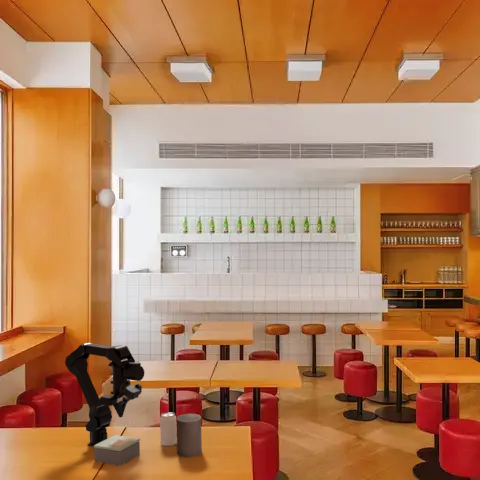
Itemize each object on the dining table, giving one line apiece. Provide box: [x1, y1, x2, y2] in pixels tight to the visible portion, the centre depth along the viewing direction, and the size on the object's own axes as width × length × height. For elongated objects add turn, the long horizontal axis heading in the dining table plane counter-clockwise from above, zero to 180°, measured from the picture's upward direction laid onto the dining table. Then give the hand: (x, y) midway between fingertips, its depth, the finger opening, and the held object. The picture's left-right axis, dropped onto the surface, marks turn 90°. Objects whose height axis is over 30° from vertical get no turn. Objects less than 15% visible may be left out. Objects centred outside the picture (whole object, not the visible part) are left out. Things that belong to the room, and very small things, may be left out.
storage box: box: [93, 441, 141, 467], centre depth 219 cm, size 12×12×5 cm
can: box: [159, 411, 177, 447], centre depth 232 cm, size 6×6×12 cm
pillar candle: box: [176, 413, 203, 458], centre depth 222 cm, size 10×10×15 cm
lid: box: [93, 434, 141, 451], centre depth 219 cm, size 12×12×1 cm
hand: (120, 417), depth 228 cm, fingers closed
